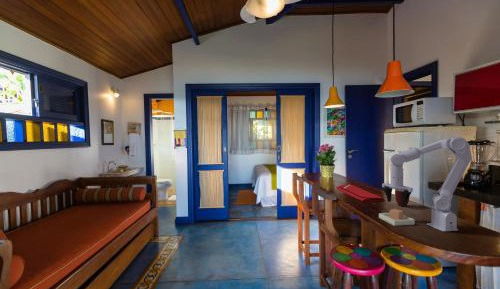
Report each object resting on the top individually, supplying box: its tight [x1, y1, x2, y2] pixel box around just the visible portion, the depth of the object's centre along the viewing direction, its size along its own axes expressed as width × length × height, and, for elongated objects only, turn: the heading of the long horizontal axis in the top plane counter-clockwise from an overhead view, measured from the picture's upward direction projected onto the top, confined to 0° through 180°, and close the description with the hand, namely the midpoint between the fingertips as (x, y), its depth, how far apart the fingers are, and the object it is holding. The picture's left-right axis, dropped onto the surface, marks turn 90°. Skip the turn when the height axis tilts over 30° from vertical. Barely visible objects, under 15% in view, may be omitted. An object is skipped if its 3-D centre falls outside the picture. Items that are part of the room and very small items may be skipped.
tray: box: [378, 212, 416, 227], centre depth 130 cm, size 12×11×2 cm
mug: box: [394, 189, 411, 208], centre depth 156 cm, size 11×8×10 cm
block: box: [389, 208, 404, 220], centre depth 130 cm, size 4×4×5 cm
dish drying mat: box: [335, 184, 385, 203], centre depth 189 cm, size 16×41×4 cm, turn 6°
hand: (396, 203), depth 130 cm, fingers open, 7 cm apart
